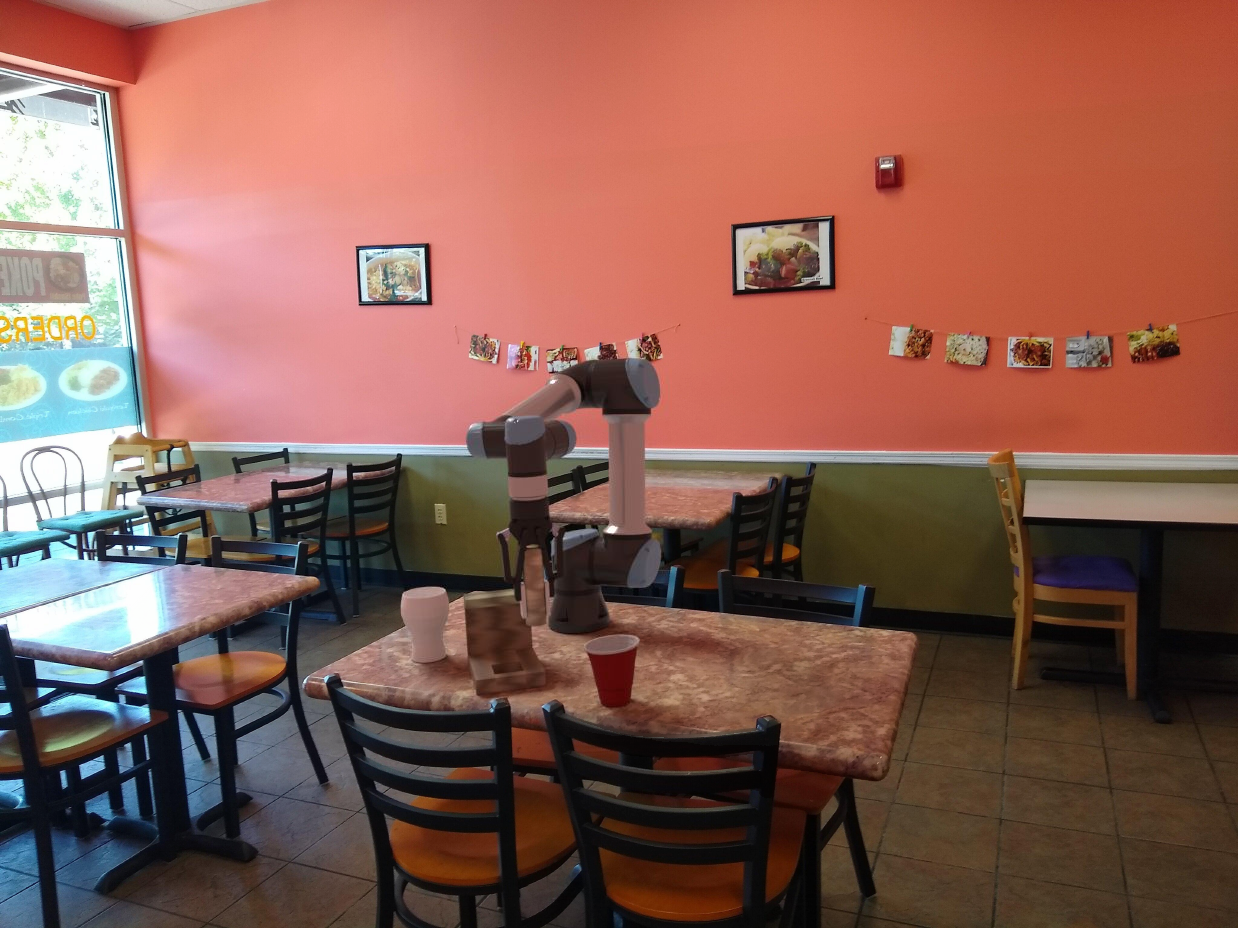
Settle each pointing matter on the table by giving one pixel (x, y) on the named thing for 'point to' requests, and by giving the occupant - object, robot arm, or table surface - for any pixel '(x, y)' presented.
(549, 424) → the robot arm
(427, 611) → the cup
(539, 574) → the peg
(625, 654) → the plastic cup
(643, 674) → the table surface
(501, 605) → the socket block
